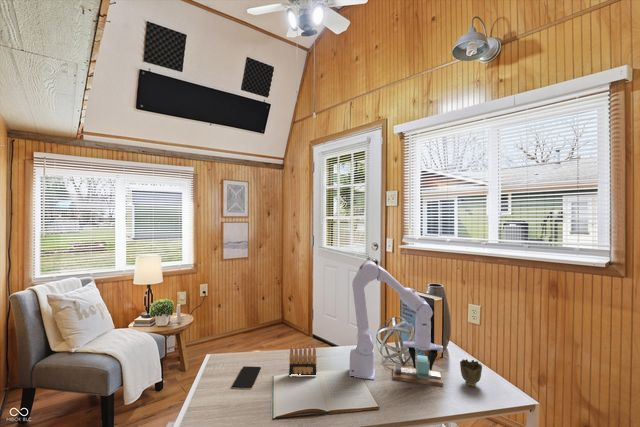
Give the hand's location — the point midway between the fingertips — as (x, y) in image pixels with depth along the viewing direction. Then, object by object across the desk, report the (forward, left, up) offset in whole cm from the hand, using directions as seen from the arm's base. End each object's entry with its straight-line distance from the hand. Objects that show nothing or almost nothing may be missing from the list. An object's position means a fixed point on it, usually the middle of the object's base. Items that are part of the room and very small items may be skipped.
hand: (422, 368), depth 121 cm
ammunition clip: (-45, -11, -4) cm, 46 cm away
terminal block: (0, 0, -2) cm, 2 cm away
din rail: (-2, 0, -2) cm, 3 cm away
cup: (+17, -1, -4) cm, 17 cm away
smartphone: (-65, -18, -4) cm, 68 cm away
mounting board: (-2, 0, -4) cm, 4 cm away
